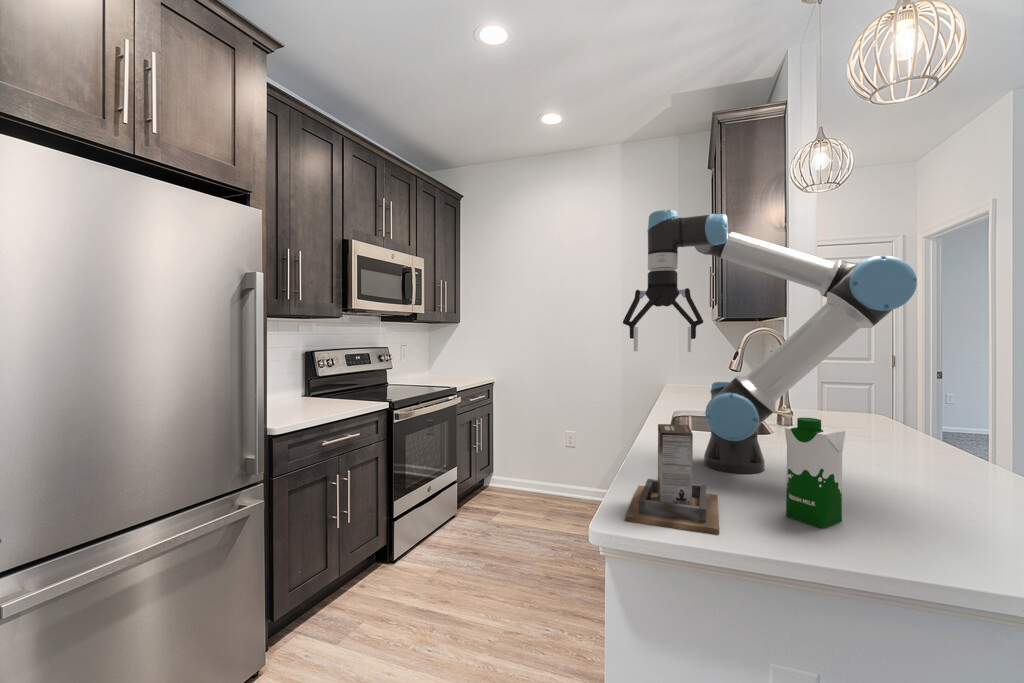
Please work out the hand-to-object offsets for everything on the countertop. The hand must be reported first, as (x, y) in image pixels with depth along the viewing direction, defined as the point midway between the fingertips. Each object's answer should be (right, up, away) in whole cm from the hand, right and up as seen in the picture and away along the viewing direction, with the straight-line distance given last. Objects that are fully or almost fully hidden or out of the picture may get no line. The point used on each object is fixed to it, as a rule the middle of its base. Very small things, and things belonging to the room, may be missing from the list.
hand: (662, 351), depth 128 cm
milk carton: (+20, -33, -32) cm, 50 cm away
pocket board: (-6, -32, -27) cm, 43 cm away
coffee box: (-6, -32, -27) cm, 42 cm away
